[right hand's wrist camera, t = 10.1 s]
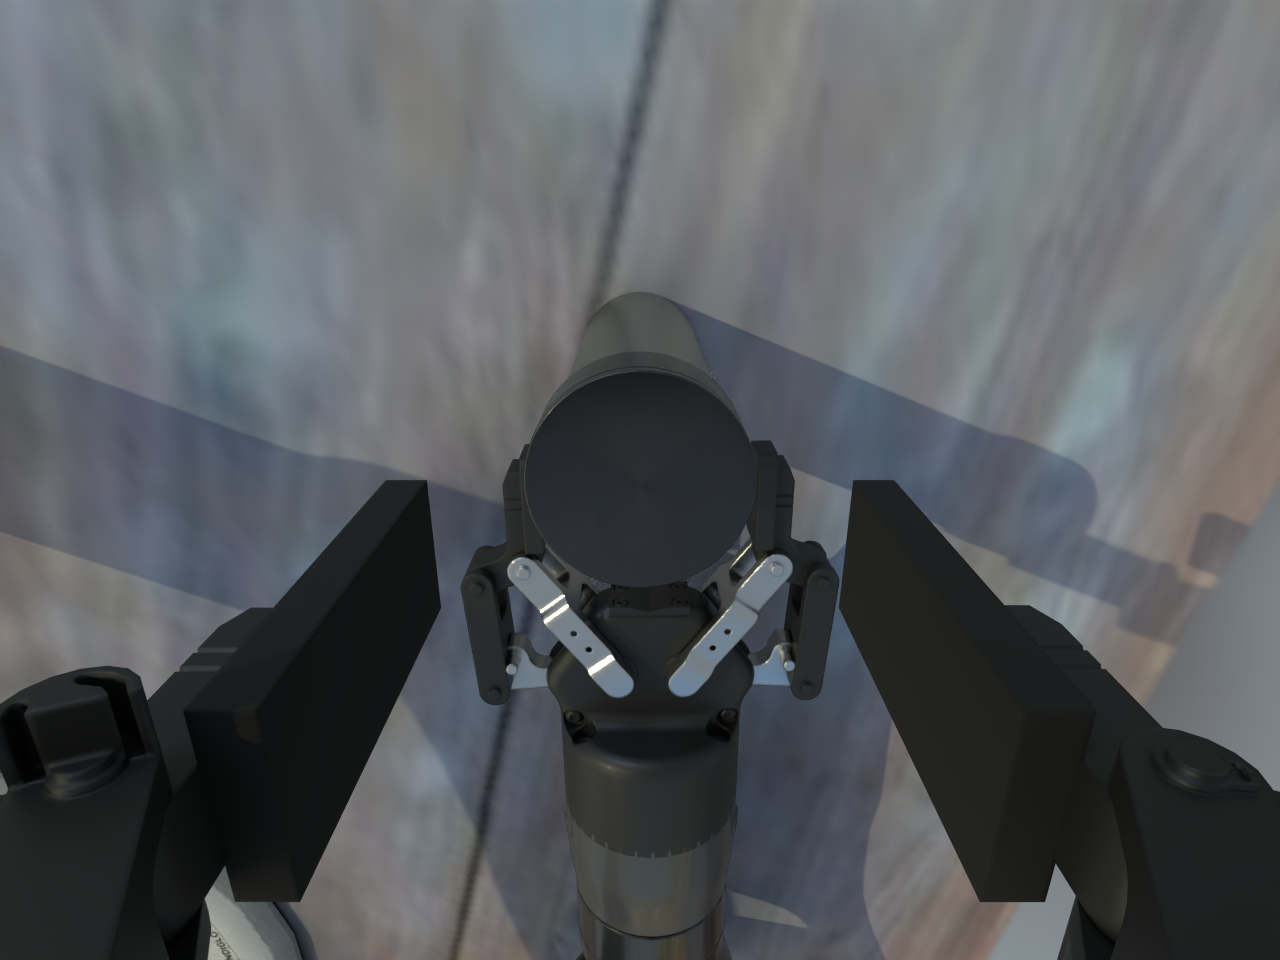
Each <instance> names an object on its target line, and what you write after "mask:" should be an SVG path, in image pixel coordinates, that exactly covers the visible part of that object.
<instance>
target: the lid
mask: <svg viewBox="0 0 1280 960" xmlns="http://www.w3.org/2000/svg"><path fill="white" fill-rule="evenodd" d="M756 483H757V477H756V464H755V459H754V454H753V450H752V447H751V444H750V441H749V439H748V436H747V434H746V432H745V429H744V427H743V425H742V423H741V420H740V418H739V416H738V414H737V412H736V410H735V408H734V406H733V404H732V402H731V400H730V399H729V397H728V396H727V395H726V393H725V392H724V390H723V389H722V388H721V387H720V386H719V385H718V384H717V383H716V382H715V381H714V380H713V379H712V378H711V377H710V376H708V375H707V374H706V373H705V372H704V371H702V370H700V369H699V368H697V367H696V366H694V365H692V364H691V363H688V362H686V361H684V360H682V359H679V358H677V357H673V356H670V355H666V354H662V353H655V352H644V351H634V352H624V353H618V354H614V355H610V356H606V357H604V358H601V359H599V360H596V361H594V362H592V363H590V364H588V365H586V366H584V367H583V368H581V369H580V370H578V371H577V372H575V373H574V374H573V375H571V376H570V377H569V378H568V379H567V380H566V381H565V382H564V383H563V384H562V385H561V386H560V387H559V388H558V389H557V391H556V392H555V393H554V395H553V396H552V397H551V399H550V401H549V402H548V404H547V406H546V407H545V410H544V412H543V414H542V416H541V419H540V421H539V423H538V425H537V428H536V430H535V432H534V435H533V437H532V439H531V442H530V444H529V447H528V451H527V455H526V459H525V465H524V492H525V498H526V503H527V506H528V510H529V513H530V516H531V518H532V520H533V522H534V524H535V526H536V528H537V530H538V532H539V533H540V535H541V536H542V538H543V539H544V541H545V542H546V543H547V544H548V546H549V547H550V548H551V549H552V550H553V551H554V552H555V553H556V554H557V555H558V556H559V557H560V558H561V559H562V560H564V561H565V562H566V563H568V564H569V565H570V566H572V567H573V568H575V569H576V570H578V571H580V572H582V573H584V574H585V575H587V576H589V577H592V578H595V579H597V580H600V581H602V582H606V583H610V584H614V585H620V586H627V587H653V586H661V585H666V584H670V583H674V582H677V581H680V580H683V579H686V578H688V577H690V576H692V575H695V574H697V573H699V572H700V571H702V570H704V569H705V568H707V567H708V566H710V565H711V564H713V563H714V562H715V561H716V560H718V559H719V558H720V557H721V556H722V555H723V554H724V553H725V552H726V551H727V550H728V549H729V548H730V547H731V546H732V545H733V543H734V542H735V541H736V539H737V538H738V537H739V535H740V534H741V532H742V530H743V528H744V526H745V525H746V523H747V521H748V518H749V515H750V513H751V510H752V507H753V503H754V499H755V494H756Z"/></svg>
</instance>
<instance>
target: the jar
mask: <svg viewBox="0 0 1280 960" xmlns="http://www.w3.org/2000/svg"><path fill="white" fill-rule="evenodd" d="M634 351H644V352H655V353H662V354H666V355H670V356H673V357H677V358H679V359H682V360H684V361H686V362H688V363H691V364H692V365H694V366H696V367H697V368H699V369H700V370H702V371H704V372H705V373H706V374H707V375H708V376H710V377H711V374H710V372H709V369H708V366H707V364H706V361H705V359H704V356H703V354H702V351H701V348H700V346H699V343H698V341H697V338H696V336H695V333H694V330H693V328H692V326H691V324H690V322H689V320H688V318H687V317H686V315H685V314H684V313H683V312H682V311H681V310H680V308H678V307H677V306H676V305H675V304H674V303H672V302H671V301H669V300H667V299H665V298H663V297H661V296H658V295H655V294H650V293H629V294H625V295H622V296H619V297H617V298H615V299H613V300H611V301H609V302H608V303H607V304H605V305H604V306H603V307H602V308H601V309H600V310H599V311H598V312H597V313H596V314H595V316H594V317H593V318H592V320H591V322H590V323H589V326H588V328H587V331H586V333H585V336H584V338H583V341H582V343H581V346H580V349H579V351H578V354H577V356H576V359H575V362H574V364H573V367H572V369H571V372H570V374H569V377H570V376H571V375H573V374H574V373H575V372H577V371H578V370H580V369H581V368H583V367H584V366H586V365H588V364H590V363H592V362H594V361H596V360H599V359H601V358H604V357H606V356H610V355H614V354H618V353H624V352H634ZM569 377H568V378H569ZM711 378H712V377H711Z"/></svg>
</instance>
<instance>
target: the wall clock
mask: <svg viewBox="0 0 1280 960" xmlns="http://www.w3.org/2000/svg"><path fill="white" fill-rule="evenodd" d="M7 791H8V787H7V785H6V782H5V780H4V777H3V775H2V773H0V795H4V794H6V793H7ZM205 900H206V904H207V907H208V911H209V916H210V922H211V936H210V945H209V954H208V960H302V957H301V954H300V951H299V948H298V944H297V941H296V938H295V935H294V933H293V931H292V930H291V929H290V927H289V926H288V924H287V923H286V921H285V920H284V919H283V917H282V916H281V914H280V913H279V911H278V910H277V908H276V907H275V906H274V904H273V903H272V902H235V900H234V896H233V893H232V889H231V885H230V882H229V878H228V874H227V871H226V867H224V868H223V870H222V871H221V873H220V875H219V876H218V878H217V880H216V881H215V883H214V884H213V886H212V888H211V889H210V891H209V893H208V894H207V896H206V897H205Z"/></svg>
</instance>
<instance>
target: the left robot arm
mask: <svg viewBox="0 0 1280 960" xmlns="http://www.w3.org/2000/svg"><path fill="white" fill-rule="evenodd" d="M528 447H529V444H525V446H524V448H523V450H522V453H521V455H520V459H513V460H512V463H511V465H510V467H509V469H508V472H507V474H506V477H505V480H504V483H503V496H504V508H505V520H506V532H507V542H505V543H504V544H501V545H499V546H496V547H493V546H482V547H480V548H478V549H477V550H476V552H475V553H474V556H473V558H472V560H471V563H470V565H469V567H468V569H467V572H466V574H465V576H464V579H463V581H462V583H461V592H462V598H463V604H464V609H465V615H466V620H467V626H468V631H469V637H470V642H471V648H472V653H473V659H474V664H475V670H476V676H477V681H478V687H479V692H480V696H481V698H482V699H483V700H484V701H485V702H486V703H488V704H491V705H500V704H503V703H505V702H506V701H507V700H508V698H509V696H510V692H511V690H512V689H527V688H543V687H549V689H550V691H551V692H552V693H553V695H554V696H555V697H556V699H557V700H558V702H559V705H560V708H561V718H562V735H563V752H564V769H565V786H566V802H567V805H566V808H565V823H566V828H567V831H568V836H569V844H570V850H571V855H572V860H573V864H574V868H575V872H576V878H577V894H578V913H579V928H580V937H581V944H582V949H583V952H582V953H581V954H580V955H579V956H578V957H577V959H576V960H732V958H731V955H730V952H729V949H728V946H727V943H726V940H725V937H724V934H723V929H724V910H725V887H726V875H727V870H728V866H729V862H730V858H731V853H732V846H733V837H734V831H735V829H736V823H737V811H738V808H737V805H736V802H735V800H736V778H737V757H738V737H739V716H740V706H741V702H742V700H743V698H744V696H745V695H746V693H747V692H748V691H749V689H750V688H751V686H752V684H757V685H783V686H790V687H791V690H792V693H793V695H794V696H795V697H796V698H798V699H801V700H810V699H813V698H815V697H816V696H817V695H818V694H819V693H820V691H821V688H822V682H823V676H824V670H825V665H826V659H827V653H828V647H829V641H830V635H831V629H832V623H833V617H834V611H835V605H836V599H837V593H838V588H839V578H838V575H837V573H836V572H835V570H834V568H833V567H832V566H831V565H830V563H829V561H828V559H827V556H826V553H825V551H824V549H823V547H822V546H821V545H820V544H819V543H817V542H815V541H806V542H800V541H797V540H794V539H792V538H791V526H792V512H793V498H794V497H793V494H794V484H795V480H794V478H793V475H792V472H791V469H790V467H789V465H788V464H787V462H786V460H785V458H784V457H783V455H778V454H777V451H776V449H775V448H774V446H773V444H772V442H771V441H770V440H768V441H751V447H752V450H753V454H754V459H755V464H756V477H757V483H756V494H755V499H754V503H753V507H752V510H751V513H750V515H749V518H748V521H747V528H748V531H749V534H750V537H751V538H750V539H749V540H748V541H747V542H746V543H745V544H744V545H743V547H742V548H741V549H740V550H739V551H738V552H737V553H736V555H735V556H734V557H733V558H732V559H731V560H730V561H729V562H724V563H722V564H721V565H720V566H719V567H718V568H717V569H716V570H715V571H714V572H713V573H712V575H711V576H710V577H709V578H708V579H707V580H706V581H705V583H704V584H703V585H702V586H701V587H700V588H699V589H698V590H696V589H694V588H691V587H688V585H687V581H677V582H674V583H670V584H666V585H661V586H653V587H627V586H620V585H614V584H611V588H608V589H605V590H603V591H601V592H600V591H599V590H598V589H597V588H596V587H595V586H594V584H593V583H592V582H591V581H590V580H589V579H588V578H587V577H586V576H585V575H584V573H582V572H580V571H578V570H576V569H575V568H573V567H572V566H570V565H569V564H568V563H566V562H565V561H564V560H562V559H561V558H560V557H559V556H558V555H557V554H556V553H555V552H554V551H553V550H552V549H551V548H550V547H549V546H548V544H547V543H546V542H545V541H544V539H543V538H542V536H541V535H540V533H539V532H538V530H537V528H536V526H535V524H534V522H533V520H532V518H531V516H530V513H529V510H528V506H527V503H526V498H525V492H524V465H525V459H526V455H527V451H528ZM785 581H787V582H790V589H789V596H788V603H787V610H786V617H785V624H784V630H783V629H776V630H774V632H773V634H772V635H771V636H770V637H769V639H768V642H767V645H766V646H765V648H764V649H762V650H761V651H759V652H756V653H750V651H749V649H748V647H747V646H746V644H745V643H744V642H743V641H742V639H741V638H742V637H743V636H744V635H745V634H746V633H747V632H748V631H749V630H750V629H751V628H752V626H753V625H754V624H755V623H756V621H757V619H758V617H759V612H760V610H761V608H762V606H763V605H764V604H765V603H766V602H767V601H768V600H769V599H770V598H771V597H772V595H773V594H774V593H775V592H776V591H777V590H778V589H779V588H780V587H781V586H782V585H783V583H784V582H785ZM513 585H515V586H516V587H517V588H518V589H519V590H520V591H521V592H522V593H523V594H524V595H525V596H526V597H527V598H528V599H529V600H530V601H531V602H532V603H533V605H534V606H535V607H536V608H537V609H538V610H539V611H540V613H541V616H542V620H543V622H544V624H545V625H546V626H547V628H548V629H549V630H550V631H551V632H552V633H553V634H554V635H555V636H556V637H557V638H558V639H559V641H558V642H557V643H556V645H555V646H554V647H553V649H552V650H551V653H550V655H549V656H544V655H541V654H538V653H537V652H536V651H535V650H534V649H533V647H532V644H531V642H530V640H529V639H528V638H527V637H526V636H525V634H524V633H522V632H517V633H515V632H514V625H513V619H512V612H511V606H510V599H509V593H508V587H510V586H513Z"/></svg>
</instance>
